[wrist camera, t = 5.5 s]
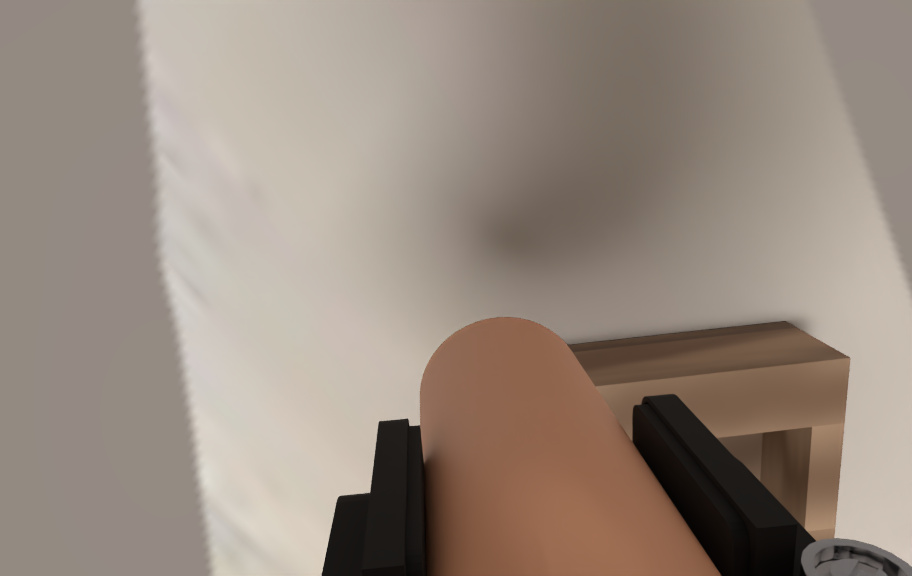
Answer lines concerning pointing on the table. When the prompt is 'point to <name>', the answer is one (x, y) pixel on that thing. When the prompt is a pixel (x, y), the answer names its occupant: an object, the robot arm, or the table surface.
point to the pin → (537, 467)
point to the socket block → (744, 402)
